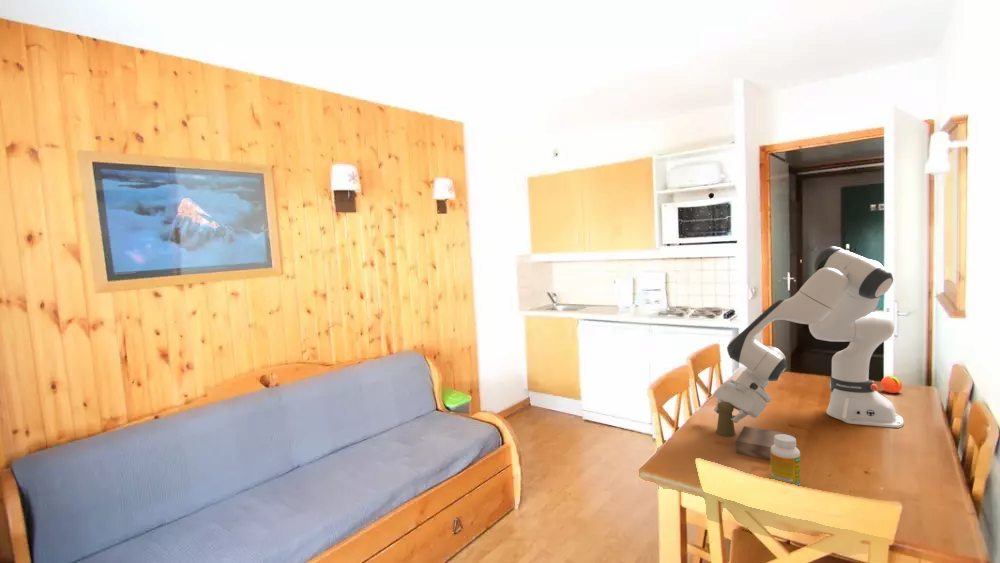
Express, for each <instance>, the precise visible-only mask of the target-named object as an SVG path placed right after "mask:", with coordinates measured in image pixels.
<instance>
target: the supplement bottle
mask: <svg viewBox="0 0 1000 563" xmlns="http://www.w3.org/2000/svg"><path fill="white" fill-rule="evenodd" d="M774 443H775V444H774V445H773V446H772V447H771V460H770V480H771V479H775V480H778V481H782V482H786V483H790V484H795V485H799V486H800V485H801V451H800V450H799V448H798V447H797V438H795V436H793V435H792V436H790V435H786V434H777V435H775V436H774Z"/></svg>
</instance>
